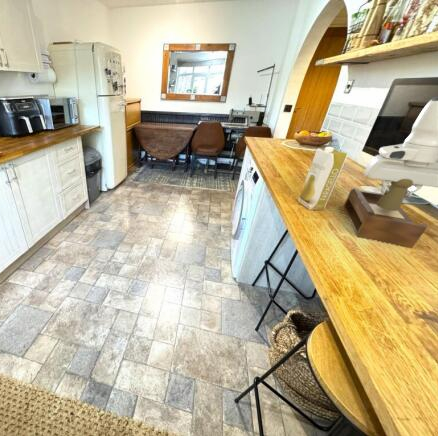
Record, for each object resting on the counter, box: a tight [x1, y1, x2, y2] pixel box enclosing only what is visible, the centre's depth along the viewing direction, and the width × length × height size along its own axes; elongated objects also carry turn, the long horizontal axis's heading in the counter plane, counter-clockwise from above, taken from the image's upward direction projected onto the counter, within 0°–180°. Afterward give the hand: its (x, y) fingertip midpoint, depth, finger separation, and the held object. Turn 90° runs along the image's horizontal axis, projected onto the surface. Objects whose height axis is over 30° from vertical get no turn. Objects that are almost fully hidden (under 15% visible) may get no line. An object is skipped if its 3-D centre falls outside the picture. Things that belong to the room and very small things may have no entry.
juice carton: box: [297, 146, 349, 211], centre depth 93 cm, size 9×8×24 cm
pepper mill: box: [376, 179, 413, 211], centre depth 79 cm, size 6×6×11 cm
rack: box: [342, 187, 428, 249], centre depth 84 cm, size 14×24×9 cm, turn 154°
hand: (394, 194), depth 80 cm, fingers closed on pepper mill, 4 cm apart
